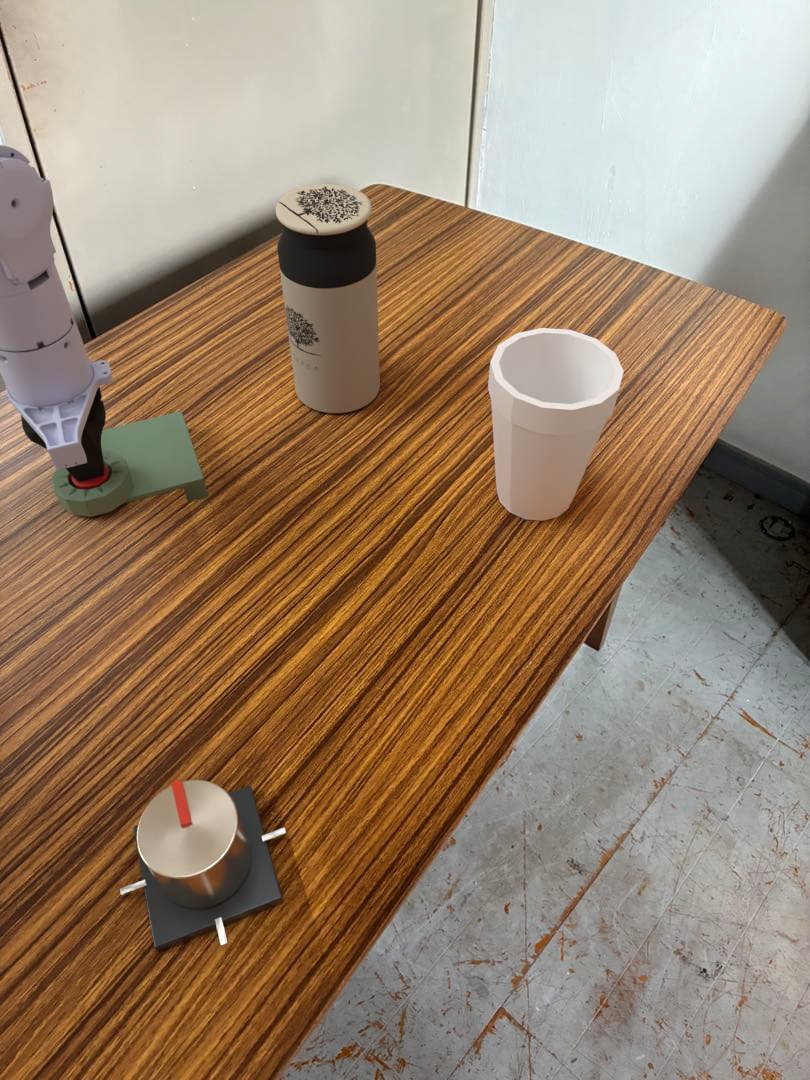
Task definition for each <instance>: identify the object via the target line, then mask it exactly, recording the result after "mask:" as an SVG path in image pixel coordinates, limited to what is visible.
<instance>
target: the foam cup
mask: <svg viewBox="0 0 810 1080" xmlns="http://www.w3.org/2000/svg"><path fill="white" fill-rule="evenodd" d="M624 371H625V370H624V369H623V366H622V365H621V362H620V360H619V358H618V355H617V353H615V352H614V351H613V350H612V349H610V347H608V346H606V345H605V344H604V343H603V342H601V341H600V340H599V339H597V338H595V337H593V336H589V335H587V334H584V333H581V332H578V331H575V330H572V329H564V328H550V327H540V328H539V327H538V328H535V329H529V330H525V331H521V332H515V334H513V335H512V336H510V337H509V338H507V339H506V340H504V341H502V342H500V343H499V344H497V347H496V349H495V351H494V353H493V355H492V358H491V359H490V362H489V372H488V380H487V381H488V382H487V390H488V393H489V397H490V403H491V405H490V406H491V421H492V422H491V423H492V438H493V454H494V455H493V457H494V472H495V473H494V475H495V487H496V493H497V497H498V502H499V503H500V504H501V505H502V506H503V507H504V508H505V509H506V510H507V511H508V512H509V513H510V514H513V515H514V516H517V517H519V518H521V519H523V520H530V521H539V522H541V521H542V522H544V521H547V520H552V519H555V518H559V517H560V516H561V515H562V514H564V513H565V512H566V511H567V510H568V509H569V508H570V506H571V504H572V503H573V501H574V498H575V495H576V494H577V491H578V488H579V487H580V484H581V482H582V479H583V477H584V475H585V472H586V470H587V467H588V465H589V463H590V461H591V458H592V456H593V454H594V451H595V449H596V447H597V445H598V442H599V440H600V437H601V435H602V433H603V431H604V428H605V427H606V423H607V421H608V419H610V417H612V416H613V414H614V410H615V406H616V403H617V400H618V395H619V392H620V388H621V385H622V381H623V376H624V374H625V372H624Z"/></svg>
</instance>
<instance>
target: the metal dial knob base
mask: <svg viewBox="0 0 810 1080" xmlns="http://www.w3.org/2000/svg"><path fill="white" fill-rule="evenodd" d="M227 793H228V794H229V795H230V796H231V798H232V799H233V801H234V803H235V805H236V808H237V811H238V813H239V816H240V818H241V821H242V823H243V826H244V829H245V831H246V834H247V836H248V839H249V842H250V846H251V864H250V868H249V871H248V874H247V876H246V878H245V880H244V881H243V883H242V885H241V886H240V887H239V888H238V890H237V891H236V892H235V893H234V894H233V895H232V896H230V897H229V898H228V899H226V900H225V901H223V902H221V903H219V904H217V905H215V906H212V907H208V908H203V909H193V908H187V907H183V906H181V905H179V904H177V903H175V902H174V901H172V900H171V899H170V898H169V897H168V896H167V895H166V893H165V892H164V891H163V889H162V888H161V886H160V885H159V883H158V882H157V880H156V879H155V878H154V876H153V875H152V873H151V872H150V870H149V869H148V867H147V866H146V864H145V863H144V861H143V860H142V858H141V856H140V854H139V851H138V848H137V840H136V838H137V828H138V824H137V825H134V826H133V828H132V829H133V835H134V840H135V846H136V847H135V848H136V853H137V857H138V863H139V868H140V874H141V880H140V881H137V882H134V883H132V884H129V885H126V886H123V887H120V888H119V893H120V896H121V897H122V896H125V895H127V894H129V893H132V892H136V891H138V890H141V889H143V891H144V896H145V902H146V908H147V914H148V919H149V925H150V931H151V937H152V941H153V948H154V949H155V950H156V952H161V951H165V950H167V949H169V948H171V947H175V946H176V945H179V944H182V943H184V942H186V941H187V942H188V941H189V940H192V939H195V938H197V937H199V936H202V935H204V934H207V933H209V932H212V931H215V930H217V935H218V939H219V944H220V946H221V947H223V946H225V945H228V944H229V942H228V938H227V933H226V929H225V926H228V925H231V924H232V923H234V922H237V921H240V920H242V919H245V918H247V917H250V916H253V915H254V914H258V913H260V912H262V911H265V910H267V909H270V908H272V907H275V906H278V905H281V904H283V903H284V897H283V894H282V889H281V887H280V883H279V880H278V876H277V872H276V869H275V866H274V862H273V858H272V855H271V851H270V848H269V844H268V842H269V841H271V840H274V839H277V838H279V837H282V836H285V835H287V830H286V827H285V826H284V827H281V828H278V829H276V830H273V831H270V832H267V833H265V830H264V827H263V823H262V819H261V815H260V813H259V808H258V805H257V802H256V797H255V795H254V791H253V788H252V786H251V785H246V786H244V787H241V788H238V789H234V790H233V791H230V792H227Z"/></svg>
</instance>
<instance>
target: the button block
mask: <svg viewBox="0 0 810 1080" xmlns="http://www.w3.org/2000/svg"><path fill="white" fill-rule="evenodd" d="M101 448H102V454H103V460H104V464H105V465H106V466H107V468H108V470H109V473H110V475H111V476H110V478H109V480H108V481H107V482H105V483H104V484H102V485H101V486H99V487H97V488H93V489H89V490H82V489H76V488H75V486H74V483H73V481H72V475H71V474H70V473H69V472H68V471H67V469H66V468H64V469H60V470H56V469H55V471H54V473H53V474H52V476H51V482H52V488H53V492H54V494H55V496H56V498H57V500H58V503H59V504H60V506H61V507H62V508H64V510H66V511H67V512H69V513H70V514H71V515H73V516H79V517H88V518H89V517H90V518H91V517H96V516H99V515H103V514H108V513H111V512H113V511H114V510H116V509H117V508H118V507H120V506H121V505H123V504H128V503H131V502H135V501H138V500H142V499H145V498H150V497H153V496H157V495H161V494H165V493H169V492H172V491H177V490H180V489H183V490H184V494H185V497H186V501H187V502H188V503H189V502H193V501H197V500H199V499H205V498H207V497H209V493H208V489H207V484H206V481H205V478H204V475H203V472H202V469H201V465H200V463H199V459H198V457H197V453H196V449H195V447H194V444H193V441H192V438H191V434H190V432H189V428H188V425H187V423H186V419H185V416H184V414H183V411H182V410H180V411H175V412H171V413H168V414H167V413H166V414H163V415H159V416H155V417H150V418H146V419H142V420H139V421H138V420H137V421H135V422H134V421H133V422H130V423H126V424H121V425H117V426H114V427H109V428H105V429H103V431H102V435H101Z"/></svg>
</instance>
